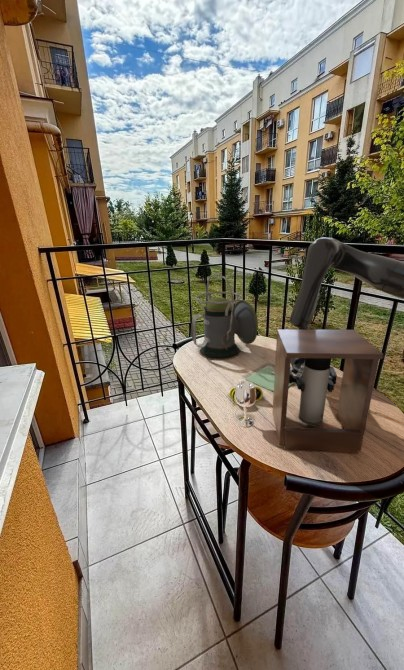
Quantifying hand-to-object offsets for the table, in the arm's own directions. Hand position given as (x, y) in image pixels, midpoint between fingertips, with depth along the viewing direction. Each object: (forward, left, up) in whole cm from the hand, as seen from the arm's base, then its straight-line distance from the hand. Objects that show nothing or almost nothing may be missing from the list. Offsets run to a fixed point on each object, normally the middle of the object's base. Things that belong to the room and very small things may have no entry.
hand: (317, 388), depth 71 cm
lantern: (-26, -53, -13) cm, 60 cm away
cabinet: (0, 0, -13) cm, 13 cm away
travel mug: (-2, -2, -11) cm, 11 cm away
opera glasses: (+1, -22, -13) cm, 25 cm away
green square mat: (-16, -23, -13) cm, 31 cm away
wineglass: (+10, -15, -13) cm, 22 cm away
